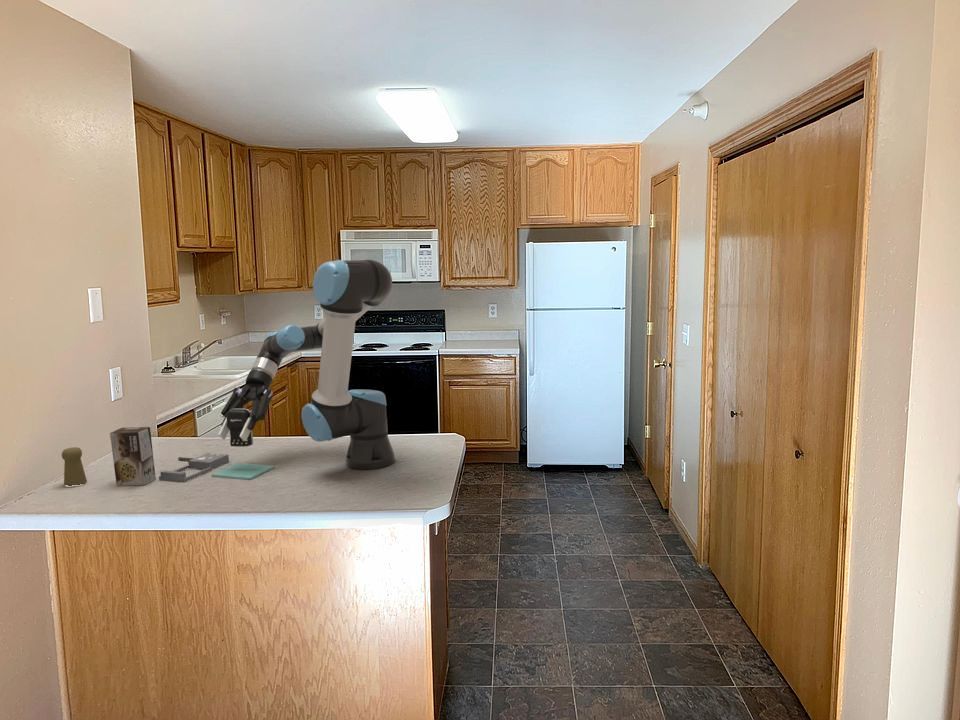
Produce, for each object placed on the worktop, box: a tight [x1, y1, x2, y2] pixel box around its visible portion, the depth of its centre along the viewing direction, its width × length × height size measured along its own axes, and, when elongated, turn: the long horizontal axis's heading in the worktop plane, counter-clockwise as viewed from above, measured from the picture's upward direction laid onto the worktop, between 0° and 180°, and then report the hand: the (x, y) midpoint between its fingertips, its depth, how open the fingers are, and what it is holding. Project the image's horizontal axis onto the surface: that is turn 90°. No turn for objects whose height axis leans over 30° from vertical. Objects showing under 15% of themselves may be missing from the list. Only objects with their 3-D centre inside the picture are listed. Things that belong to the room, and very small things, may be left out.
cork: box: [61, 446, 88, 486], centre depth 204 cm, size 6×6×11 cm
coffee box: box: [109, 426, 157, 486], centre depth 203 cm, size 9×6×16 cm
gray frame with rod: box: [158, 452, 230, 483], centre depth 215 cm, size 19×20×3 cm
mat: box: [211, 462, 276, 481], centre depth 211 cm, size 14×12×1 cm
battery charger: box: [227, 408, 254, 448], centre depth 209 cm, size 7×4×11 cm, turn 83°
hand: (232, 437), depth 206 cm, fingers closed on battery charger, 7 cm apart
